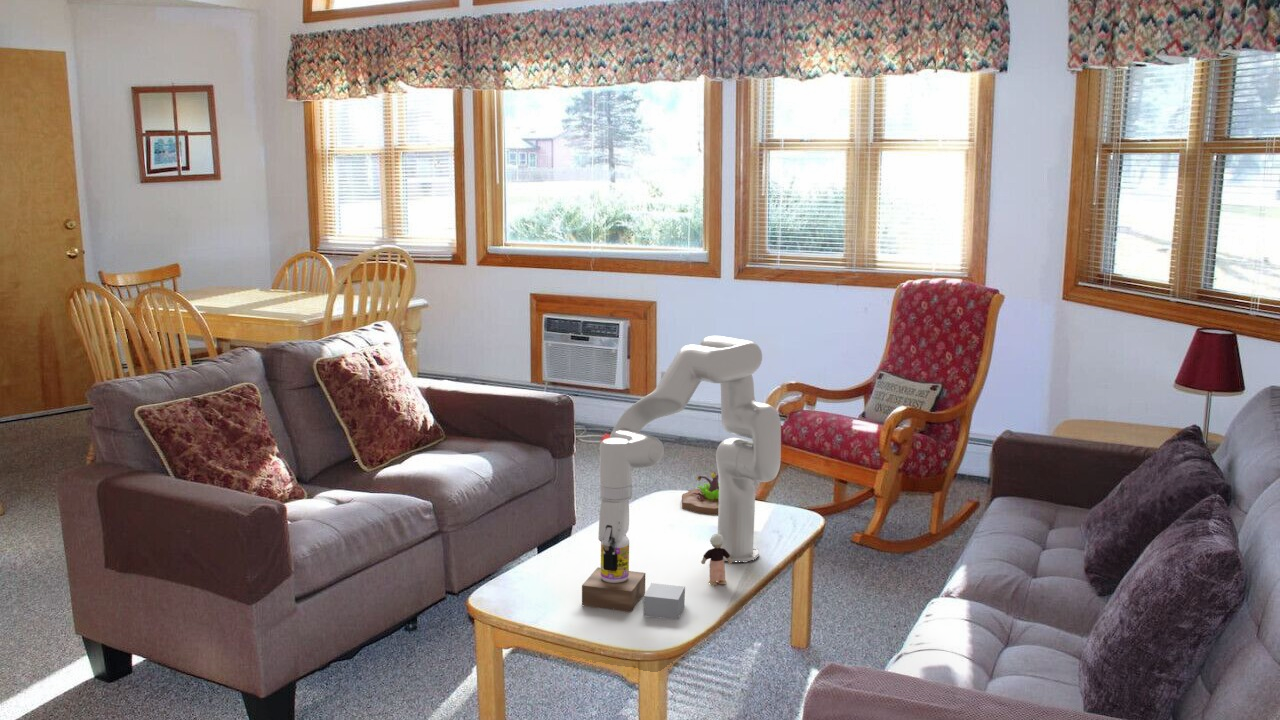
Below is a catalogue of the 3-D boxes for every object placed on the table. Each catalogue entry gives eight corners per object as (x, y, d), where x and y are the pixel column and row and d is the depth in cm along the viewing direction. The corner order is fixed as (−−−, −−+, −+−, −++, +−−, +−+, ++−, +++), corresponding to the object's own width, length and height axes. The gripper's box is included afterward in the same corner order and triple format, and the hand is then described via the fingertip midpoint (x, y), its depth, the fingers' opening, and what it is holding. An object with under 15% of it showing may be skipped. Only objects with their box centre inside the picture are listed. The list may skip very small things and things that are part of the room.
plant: (674, 512, 317) (675, 476, 315) (686, 493, 336) (687, 459, 334) (741, 518, 313) (742, 481, 311) (749, 498, 332) (750, 464, 330)
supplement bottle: (604, 585, 246) (604, 532, 244) (597, 574, 252) (597, 523, 250) (632, 582, 248) (632, 530, 246) (624, 572, 254) (625, 520, 252)
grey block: (650, 603, 249) (651, 583, 248) (684, 606, 248) (684, 586, 247) (643, 616, 242) (643, 595, 241) (677, 620, 240) (678, 599, 239)
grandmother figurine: (726, 578, 265) (727, 530, 262) (733, 584, 261) (734, 534, 259) (698, 582, 262) (699, 533, 260) (704, 588, 258) (705, 538, 256)
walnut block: (597, 586, 258) (597, 567, 257) (645, 592, 255) (645, 572, 254) (581, 605, 247) (581, 585, 246) (631, 612, 244) (631, 591, 243)
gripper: (611, 479, 256) (610, 550, 259) (588, 500, 239) (588, 575, 242) (641, 482, 254) (640, 553, 257) (620, 503, 237) (619, 579, 240)
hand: (615, 563), depth 249 cm, fingers closed on supplement bottle, 6 cm apart
